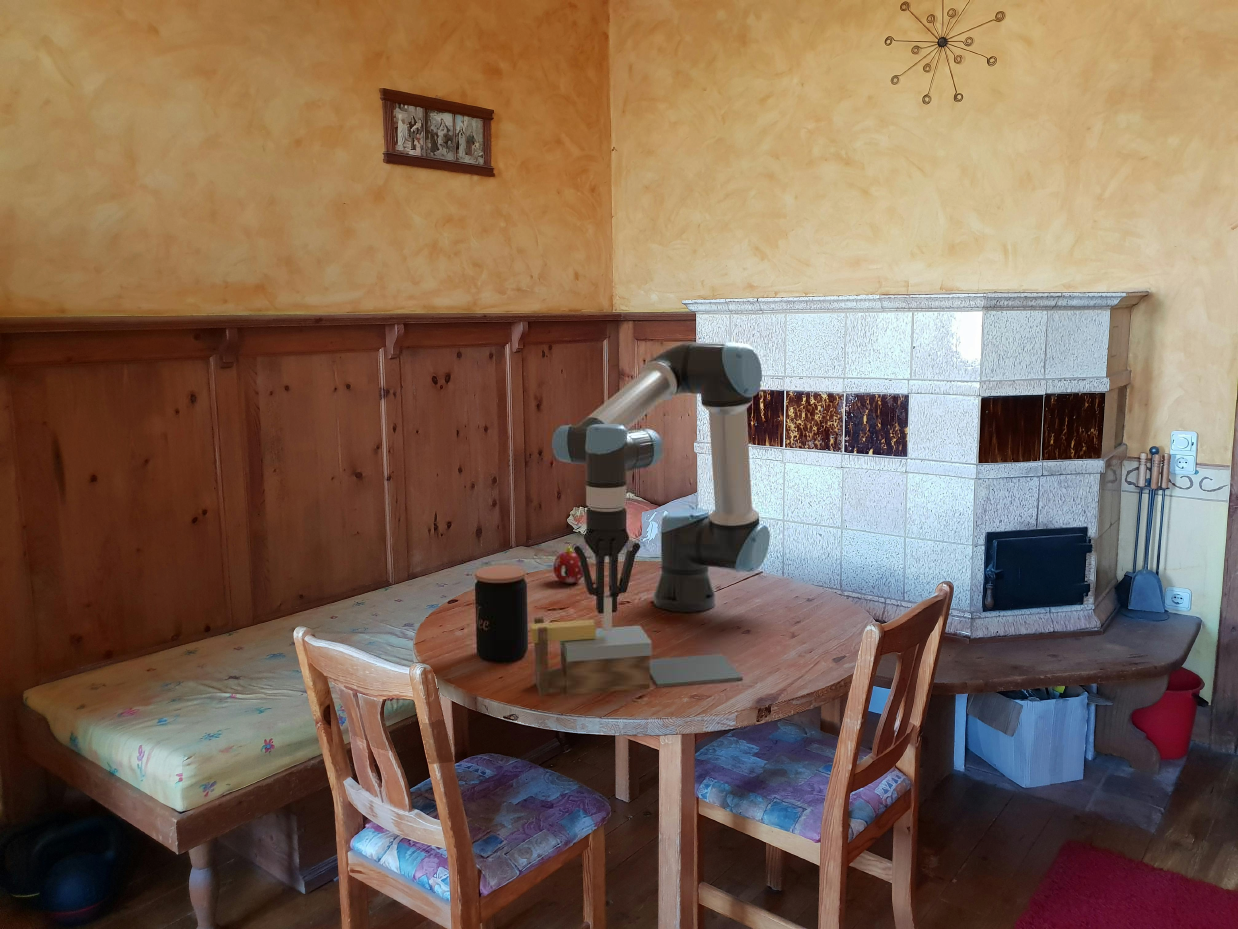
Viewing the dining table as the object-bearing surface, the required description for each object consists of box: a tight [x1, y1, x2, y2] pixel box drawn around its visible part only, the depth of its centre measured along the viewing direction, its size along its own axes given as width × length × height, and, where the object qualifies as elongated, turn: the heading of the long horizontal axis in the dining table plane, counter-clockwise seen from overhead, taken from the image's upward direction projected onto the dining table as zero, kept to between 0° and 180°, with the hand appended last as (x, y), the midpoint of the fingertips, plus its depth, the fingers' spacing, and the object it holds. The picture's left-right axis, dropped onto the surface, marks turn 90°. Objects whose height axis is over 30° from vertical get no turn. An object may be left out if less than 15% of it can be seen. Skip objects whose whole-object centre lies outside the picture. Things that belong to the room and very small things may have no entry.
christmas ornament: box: [552, 546, 583, 585], centre depth 248 cm, size 9×9×10 cm
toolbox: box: [533, 617, 651, 698], centre depth 177 cm, size 21×7×13 cm, turn 102°
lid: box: [559, 625, 653, 662], centre depth 178 cm, size 16×10×4 cm, turn 102°
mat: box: [650, 653, 744, 688], centre depth 185 cm, size 17×13×1 cm
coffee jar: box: [474, 564, 529, 664], centre depth 193 cm, size 11×11×18 cm
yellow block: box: [529, 619, 597, 644], centre depth 175 cm, size 12×3×3 cm, turn 102°
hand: (606, 628), depth 177 cm, fingers closed
